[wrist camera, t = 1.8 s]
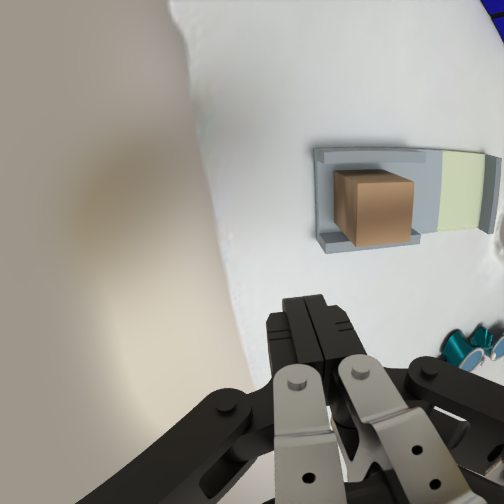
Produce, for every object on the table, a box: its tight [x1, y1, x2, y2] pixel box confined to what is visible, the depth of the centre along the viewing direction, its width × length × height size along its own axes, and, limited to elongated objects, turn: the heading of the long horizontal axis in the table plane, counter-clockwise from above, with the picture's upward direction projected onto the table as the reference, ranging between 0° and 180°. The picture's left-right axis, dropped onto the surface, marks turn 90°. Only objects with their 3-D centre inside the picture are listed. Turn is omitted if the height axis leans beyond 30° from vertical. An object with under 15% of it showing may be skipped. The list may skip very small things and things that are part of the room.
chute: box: [314, 147, 502, 254], centre depth 27 cm, size 9×22×4 cm, turn 95°
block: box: [333, 169, 414, 247], centre depth 25 cm, size 5×5×6 cm
